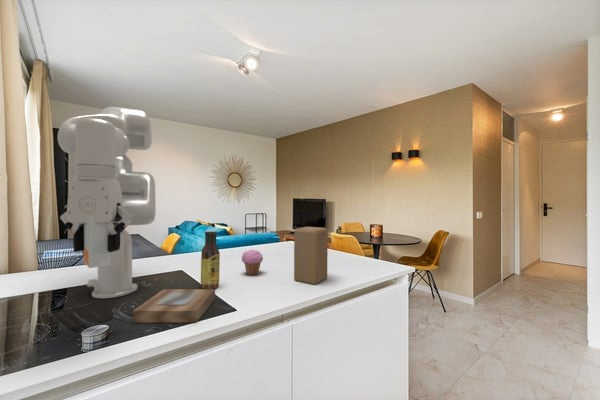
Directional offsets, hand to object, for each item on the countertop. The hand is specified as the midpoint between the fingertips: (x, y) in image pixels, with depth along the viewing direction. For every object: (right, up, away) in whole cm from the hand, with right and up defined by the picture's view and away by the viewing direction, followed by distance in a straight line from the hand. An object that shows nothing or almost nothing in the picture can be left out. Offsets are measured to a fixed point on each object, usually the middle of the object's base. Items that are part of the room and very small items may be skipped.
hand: (97, 250), depth 64 cm
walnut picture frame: (+13, -19, +14) cm, 27 cm away
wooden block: (+51, -19, +42) cm, 69 cm away
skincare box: (0, -4, 0) cm, 4 cm away
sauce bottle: (+16, -19, +33) cm, 41 cm away
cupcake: (+27, -19, +50) cm, 60 cm away
